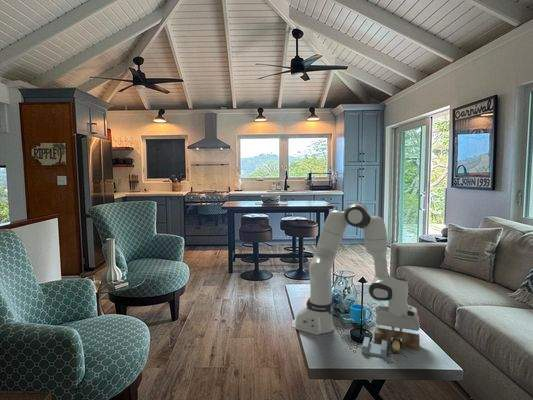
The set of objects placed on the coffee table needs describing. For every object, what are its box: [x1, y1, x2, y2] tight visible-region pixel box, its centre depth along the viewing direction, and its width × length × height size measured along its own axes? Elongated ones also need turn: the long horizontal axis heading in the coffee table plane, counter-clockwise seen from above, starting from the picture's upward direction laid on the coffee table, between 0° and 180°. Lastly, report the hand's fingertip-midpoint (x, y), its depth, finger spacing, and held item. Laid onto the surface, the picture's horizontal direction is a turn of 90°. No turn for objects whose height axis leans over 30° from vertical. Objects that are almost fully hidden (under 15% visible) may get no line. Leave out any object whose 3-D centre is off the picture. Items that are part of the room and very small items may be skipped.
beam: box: [373, 326, 421, 351], centre depth 166 cm, size 20×6×5 cm, turn 67°
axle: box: [391, 337, 401, 355], centre depth 163 cm, size 4×14×4 cm, turn 157°
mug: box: [349, 303, 373, 325], centre depth 191 cm, size 12×8×8 cm
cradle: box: [361, 336, 388, 359], centre depth 159 cm, size 10×9×4 cm
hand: (396, 335), depth 170 cm, fingers closed, pressing on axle
